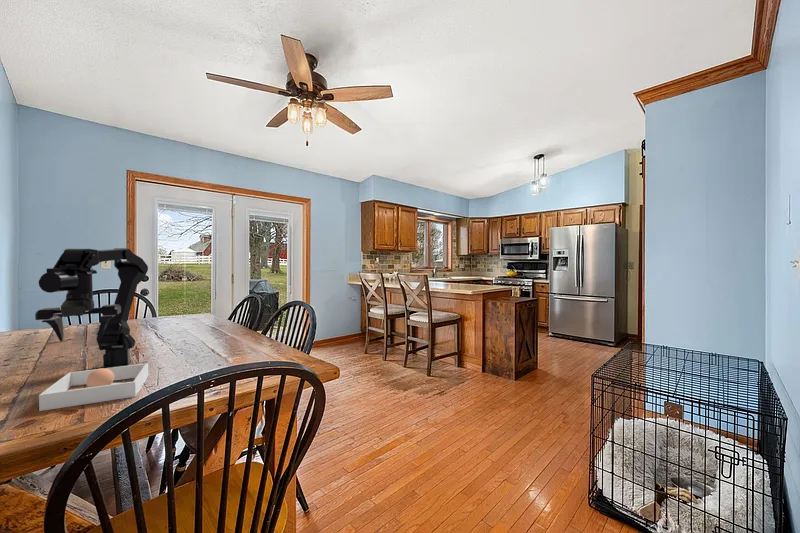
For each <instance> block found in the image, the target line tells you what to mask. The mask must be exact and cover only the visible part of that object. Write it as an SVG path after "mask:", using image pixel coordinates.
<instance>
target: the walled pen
mask: <svg viewBox="0 0 800 533" xmlns="http://www.w3.org/2000/svg"><path fill="white" fill-rule="evenodd" d="M97 369H98V368H97ZM97 369H87V370H79V371H72V372H68V373H66V374H65V375H64V376H62V377H61V378H60V379H58V380H57V381H56V382H55V383H53V384H51V386H49V387H48V388H47V389H45V390H43V392H41V393H40V394H38V405H39V406H38V407H39V408H38V409H39V412H42V411H49V410H54V409H55V410H56V409H61V408H68V407H75V406H82V405H89V404H94V403H101V402H108V401H115V400H121V399H127V398H133V397H134V398H136V396H137V395H138V394H139V391H140V390H141V388H142V387H143V386H144V384H145V382H146V380H147V378H148V377H149V363H146V362H145V363H139V364H129V365H128V366H120V367H112V368H105V369H109V370H111V371H112V372H113V374H114V380H113V382H112V384H111V385H105V386H98V387H90V388H89V387H88V386H87V387H86V388H85V387H84V388H76V389H70V388H71V387H74V386H75V387H77V386H82V385H87V384H86V380H87V377H88V375H89V374H90V373H91V372H93V371H94V370H97ZM128 379H134V380H132V381H129V382H115V381H122V380H128ZM69 389H70V390H69Z"/></svg>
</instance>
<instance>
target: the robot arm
mask: <svg viewBox="0 0 800 533" xmlns="http://www.w3.org/2000/svg"><path fill="white" fill-rule="evenodd" d="M122 260H123V261H122ZM111 261H114V264H113V266H114V268H116V270H117V271H118V272H117V276H118V278H119V280H120V284H119V286H118V287H119V288H118V290H117V294H116V297H115V300H114V304H104V305H102V306H101V307H95V302H94V301H95V300H94V291H93V275H95V274H98V271H97V270H96V269H94V268H93V267H95V266H97V265H99V264H100V263H102V262H111ZM148 271H149V266H148V264H147V263H146V262H145V261H144V259H143V258H142V257H140V256H139V255H136V254H135V253H133V251H132V250H131V249H130V248H127V247H124V248H123V247H122V248H119V247H118V248H117V247H116V248H111V249H98V250H97V249H93V248H66V249H64V250H63V252H62V253H61V255H60V256H59V258H58V260H57V261H56V263H55V264H54V266H53V267H52V268H51V267H50V268H46V272H45V273H43V274H42V275H41V276H40V277H39V279H38V286H39V287H40V289H41V290H42V291H44V292H45V293H50V294H51V293H57V292H58V293H59V292H67V293H66V294H65V297H66V298H65V300H64V301H63V302H62V304H61V305H60V307H44V308H41V309H38V310H37V311H36V312H35V314H34V318H35V321H41V323H46V324H48V325H49V326H50V327H51V328H52V329H53V331H54V333H55V335H56V336H57V339H58V340H59V342H63V341H64V338H65V336H64V323H63V321H64V320H63V318H68V317H75V316H76V317H82V316H83V315H94V314H97V315H98V314H101V316H100V317H99V319H100V320H99V322H100V323H99V325H98V326H99V327H98V331H97V333H96V335H97V336H96V342H97V345H98V346H97V347H98V348H99V351H104V354H103V355H102V359H103V360H102V361H103V362H102V363H103V365H102V366H103V368H112V367H120V366H129V365H131V364H130V363H132V360H130V356H131V353H130V351H131V349H133V348H135V345H136V340H135V339H134V337H133V336H132V335H131V334H130V333H131V332H130V331H131V328H130V326H129V324H128V319H129V315H130V312H131V307H132V305H133V301H134V297H135V293H136V290H137V287H138V285H139V284H140V283H141V282H142V281H143V280H144V279H145V278H146V276H147V273H148Z"/></svg>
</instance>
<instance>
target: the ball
mask: <svg viewBox="0 0 800 533" xmlns="http://www.w3.org/2000/svg"><path fill="white" fill-rule="evenodd" d="M93 370H94V371H93V372H91V373H90V374H89V375H88V377H87V380H86V384H85V385H86V386H87V388H88V387H89V388H90V387H98V386H105V385H111V384H112V383H114V381H115V380H114V374H113V372H112V371H111V370H109V369H105V368H104V367H103V368H97V370H95V369H93ZM113 380H114V381H113Z"/></svg>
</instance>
